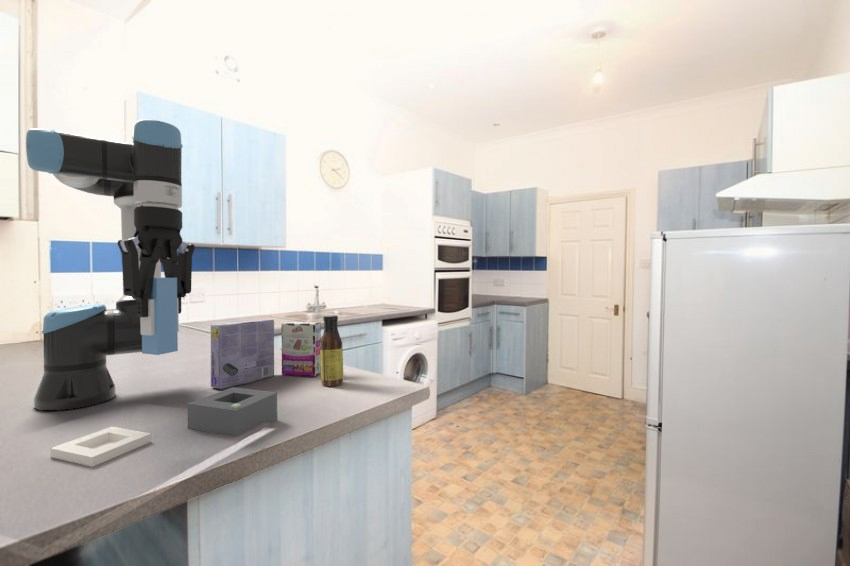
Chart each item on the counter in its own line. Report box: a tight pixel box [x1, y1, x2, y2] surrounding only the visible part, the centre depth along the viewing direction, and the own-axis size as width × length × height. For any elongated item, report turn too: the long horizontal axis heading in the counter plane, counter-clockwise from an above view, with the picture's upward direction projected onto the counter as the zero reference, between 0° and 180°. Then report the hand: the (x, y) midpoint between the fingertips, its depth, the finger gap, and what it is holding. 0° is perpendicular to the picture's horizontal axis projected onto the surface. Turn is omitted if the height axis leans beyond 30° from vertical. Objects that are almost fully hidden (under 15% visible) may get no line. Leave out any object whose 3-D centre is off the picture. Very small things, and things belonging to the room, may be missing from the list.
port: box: [187, 386, 278, 437], centre depth 85 cm, size 12×12×6 cm
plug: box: [141, 276, 179, 356], centre depth 76 cm, size 4×4×14 cm
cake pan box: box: [210, 319, 275, 391], centre depth 118 cm, size 19×5×18 cm, turn 150°
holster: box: [50, 426, 152, 467], centre depth 72 cm, size 10×10×2 cm
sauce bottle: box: [320, 314, 344, 387], centre depth 116 cm, size 7×6×20 cm
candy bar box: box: [281, 321, 322, 378], centre depth 127 cm, size 11×5×16 cm, turn 81°
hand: (160, 332), depth 76 cm, fingers closed on plug, 4 cm apart
